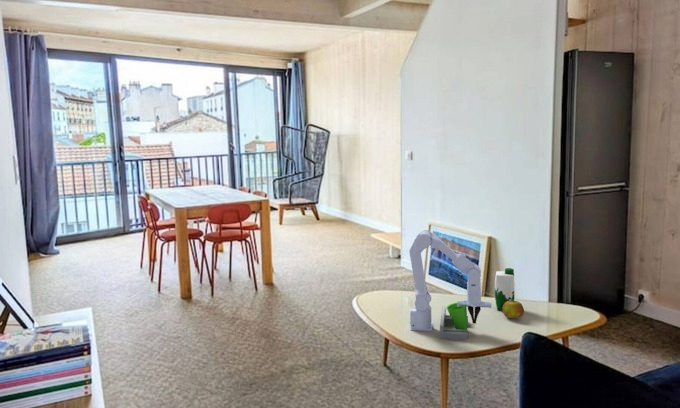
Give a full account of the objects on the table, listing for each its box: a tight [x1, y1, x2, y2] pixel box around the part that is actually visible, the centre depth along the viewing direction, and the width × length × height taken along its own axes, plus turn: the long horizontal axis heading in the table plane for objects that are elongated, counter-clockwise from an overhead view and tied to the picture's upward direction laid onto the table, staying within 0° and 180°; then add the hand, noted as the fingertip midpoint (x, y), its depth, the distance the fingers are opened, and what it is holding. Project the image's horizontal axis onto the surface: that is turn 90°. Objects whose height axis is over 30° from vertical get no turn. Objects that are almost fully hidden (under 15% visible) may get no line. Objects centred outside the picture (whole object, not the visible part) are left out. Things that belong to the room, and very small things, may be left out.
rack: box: [439, 306, 469, 342], centre depth 218 cm, size 12×21×7 cm, turn 166°
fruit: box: [502, 300, 525, 319], centre depth 230 cm, size 10×9×8 cm
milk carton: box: [494, 267, 515, 312], centre depth 241 cm, size 9×9×20 cm
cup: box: [445, 302, 469, 330], centre depth 217 cm, size 9×9×11 cm
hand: (474, 322), depth 216 cm, fingers closed
